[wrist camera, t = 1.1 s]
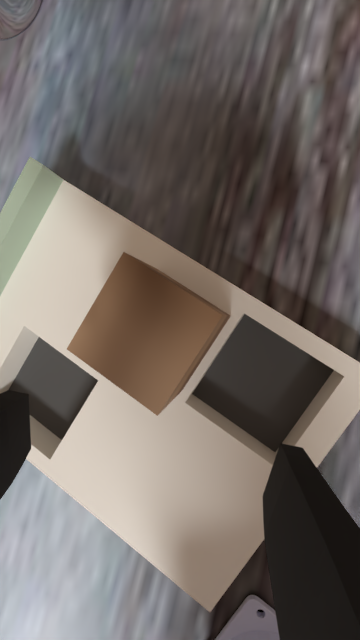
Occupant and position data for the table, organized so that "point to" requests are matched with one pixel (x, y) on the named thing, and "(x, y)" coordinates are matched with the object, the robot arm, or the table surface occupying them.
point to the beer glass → (16, 16)
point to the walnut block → (147, 333)
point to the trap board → (181, 414)
